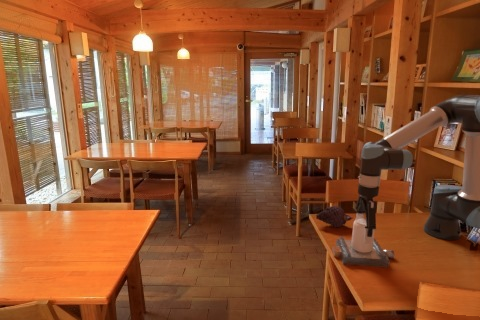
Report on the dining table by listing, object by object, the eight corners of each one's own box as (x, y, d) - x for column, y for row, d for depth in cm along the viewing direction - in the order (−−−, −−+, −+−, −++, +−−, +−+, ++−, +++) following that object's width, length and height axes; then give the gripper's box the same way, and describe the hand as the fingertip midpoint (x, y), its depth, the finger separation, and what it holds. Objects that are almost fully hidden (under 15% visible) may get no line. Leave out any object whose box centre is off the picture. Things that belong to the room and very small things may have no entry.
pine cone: (317, 229, 159) (318, 209, 157) (313, 221, 169) (314, 202, 166) (354, 230, 159) (356, 211, 156) (348, 222, 168) (350, 203, 166)
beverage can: (373, 254, 131) (377, 226, 128) (352, 252, 132) (355, 224, 130) (370, 245, 139) (373, 218, 136) (349, 242, 140) (352, 216, 137)
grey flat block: (386, 248, 142) (387, 238, 141) (399, 267, 128) (400, 257, 127) (330, 245, 144) (330, 235, 143) (336, 263, 130) (337, 253, 129)
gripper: (351, 175, 141) (346, 222, 146) (367, 195, 117) (361, 250, 122) (369, 176, 141) (364, 223, 146) (389, 196, 117) (382, 251, 122)
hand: (362, 235), depth 134 cm, fingers open, 13 cm apart
